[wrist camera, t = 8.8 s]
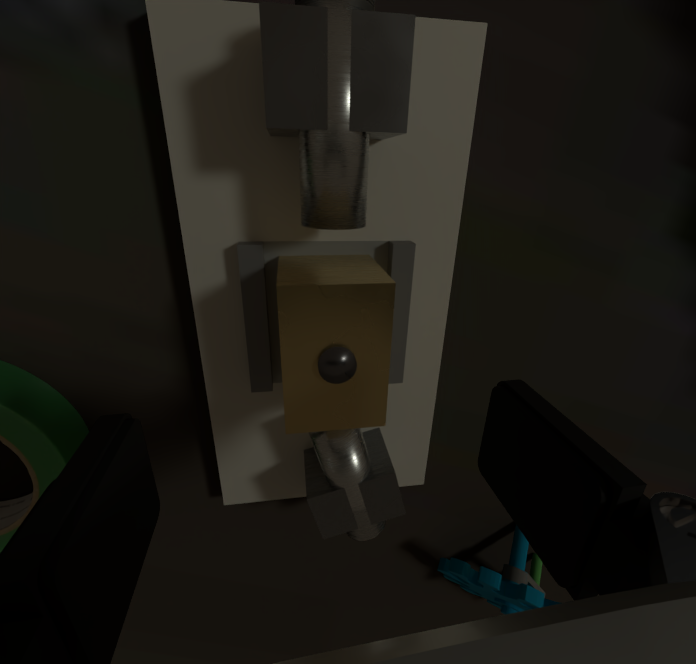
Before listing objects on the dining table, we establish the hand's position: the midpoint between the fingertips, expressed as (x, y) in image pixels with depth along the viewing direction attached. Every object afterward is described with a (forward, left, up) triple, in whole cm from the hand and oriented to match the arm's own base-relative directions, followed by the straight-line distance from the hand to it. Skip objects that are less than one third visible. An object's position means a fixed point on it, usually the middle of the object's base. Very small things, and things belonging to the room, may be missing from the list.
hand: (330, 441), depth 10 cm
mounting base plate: (+1, 0, -10) cm, 10 cm away
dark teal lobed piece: (+13, -20, -10) cm, 26 cm away
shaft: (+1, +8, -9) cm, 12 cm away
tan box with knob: (+1, 0, -9) cm, 8 cm away
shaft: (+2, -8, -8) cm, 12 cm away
